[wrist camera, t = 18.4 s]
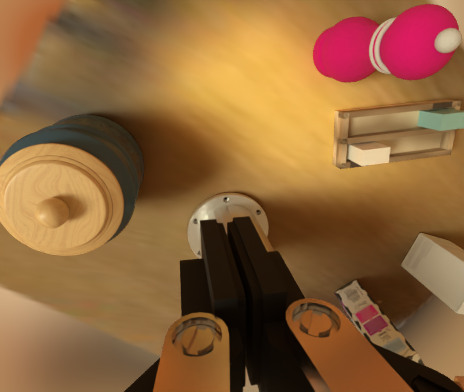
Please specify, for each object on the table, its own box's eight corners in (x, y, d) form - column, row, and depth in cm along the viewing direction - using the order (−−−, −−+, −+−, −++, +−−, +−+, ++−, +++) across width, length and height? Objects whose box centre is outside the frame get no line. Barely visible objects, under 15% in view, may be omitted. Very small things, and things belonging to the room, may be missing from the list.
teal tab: (441, 122, 48) (465, 127, 44) (417, 125, 47) (439, 130, 43) (443, 108, 47) (469, 111, 43) (419, 110, 46) (442, 114, 42)
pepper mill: (330, 9, 40) (459, -40, 22) (370, 42, 43) (517, 22, 24) (298, 62, 42) (394, 57, 24) (338, 91, 44) (454, 106, 26)
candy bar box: (331, 292, 58) (386, 370, 43) (355, 277, 58) (418, 351, 43) (355, 327, 62) (412, 409, 47) (377, 314, 62) (441, 392, 47)
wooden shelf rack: (438, 150, 51) (451, 154, 48) (332, 164, 48) (340, 169, 46) (447, 98, 47) (462, 100, 45) (335, 110, 45) (344, 113, 43)
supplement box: (398, 265, 58) (454, 314, 47) (419, 231, 56) (483, 273, 45) (429, 273, 60) (489, 321, 49) (450, 240, 58) (518, 282, 47)
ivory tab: (370, 154, 48) (388, 162, 44) (345, 157, 47) (361, 166, 43) (371, 140, 47) (390, 147, 43) (346, 143, 46) (363, 150, 42)
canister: (69, 92, 39) (-6, 108, 23) (163, 147, 43) (155, 194, 27) (25, 177, 42) (-70, 246, 25) (117, 221, 46) (86, 304, 30)
